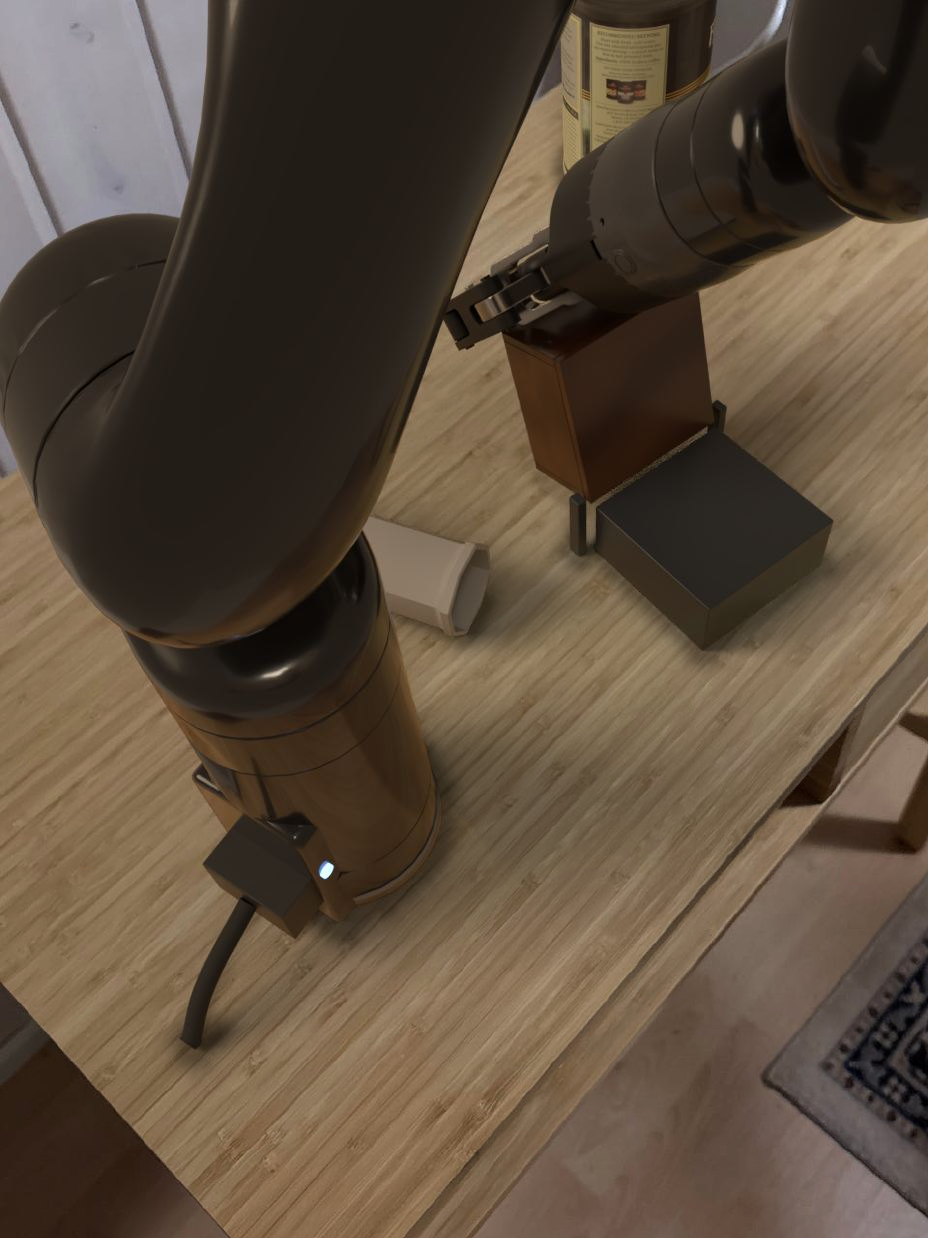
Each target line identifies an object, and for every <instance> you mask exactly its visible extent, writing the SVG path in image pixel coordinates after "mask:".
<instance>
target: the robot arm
mask: <svg viewBox="0 0 928 1238" xmlns="http://www.w3.org/2000/svg"><path fill="white" fill-rule="evenodd" d="M576 2H577V0H207V24H206V25H207V27H206V28H207V29H206V62H205V63H206V64H205V65H206V66H205V76H204V83H203V84H204V86H203V95H202V104H201V105H202V106H201V116H200V124H199V130H198V136H197V141H196V146H195V152H194V158H193V163H192V168H191V174H190V178H189V182H188V186H187V190H186V193H185V197H184V202H183V205H182V209H181V213H180V216H174V215H171V214H165V213H164V214H162V213H152V212H141V213H140V212H131V213H123V214H116V215H110V216H105V217H102V218H98V219H95V220H92V221H89V222H86V223H83V224H81V225H78V226H76V227H74V228H72V229H70V230H68V231H66V232H65V233H62V234H61V235H60V236H58V237H56V238H54V239H53V240H51V241H50V242H49V243H47V244H46V245H44V246H43V247H42V248H41V249H39V250H38V251H37V252H36V253H35V254H34V255H33V256H31V258H30V259H28V260H27V262H26V263H25V264H24V265H23V267H21V269H20V270H19V271H18V272H17V274H16V275H15V277H14V278H13V279H12V280H11V282H10V283H9V285H8V287H7V289H6V290H5V292H4V294H3V295H2V297H1V299H0V427H1V428H2V431H3V433H4V435H5V438H6V440H7V442H8V445H9V446H10V449H11V451H12V455H13V457H14V459H15V461H16V464H17V467H18V469H19V472H20V473H21V476H22V478H23V481H24V483H25V485H26V488H27V490H28V494H29V495H30V498H31V500H32V502H33V503H32V504H33V505H34V507H35V509H36V512H37V515H38V517H39V519H40V522H41V524H42V527H43V528H44V530H45V533H46V535H47V536H48V539H49V541H50V543H51V546H52V548H53V549H54V551H55V554H56V556H57V558H58V559H59V561H60V563H61V565H62V566H63V567H64V569H65V570H66V571H67V573H68V575H69V576H70V577H71V578H72V581H73V582H74V584H76V586H77V587H78V588H79V590H81V592H82V593H83V594H84V596H85V597H86V598H87V599H88V600H89V602H90V603H91V604H92V605H93V606H94V607H95V608H96V609H97V611H99V612H100V613H101V614H102V615H103V616H104V617H105V618H107V619H109V620H110V621H111V622H112V623H113V624H115V626H118V628H120V630H121V632H122V634H123V637H124V638H125V640H126V643H127V644H128V646H129V649H130V650H131V652H132V654H133V655H134V658H135V659H136V661H137V663H138V665H139V666H140V668H141V669H142V671H143V672H144V675H146V677H147V679H148V680H149V682H150V683H151V685H152V687H153V688H154V690H155V691H156V693H157V694H158V695H159V697H160V699H161V700H162V702H163V703H164V705H165V706H166V708H167V710H168V711H169V713H170V714H171V716H172V718H173V719H174V720H175V722H176V724H177V725H178V727H179V729H180V731H181V732H182V733H183V735H184V736H185V739H186V740H187V742H188V743H189V745H190V746H191V748H192V750H193V751H194V752H195V754H196V756H197V758H199V760H200V763H199V765H198V766H197V767H196V769H194V771H193V772H192V774H191V781H192V783H194V785H195V786H196V788H197V789H198V791H199V792H200V795H202V797H203V798H204V800H205V802H206V803H207V804H208V806H209V807H210V809H211V811H212V812H213V814H214V815H215V816H216V818H217V820H218V821H219V822H220V824H221V826H222V827H223V828H224V830H225V831H226V834H225V835H224V836H223V837H222V839H221V840H220V841H219V843H218V844H217V845H215V847H214V849H212V850H211V852H210V854H208V856H207V857H206V858H205V859H204V860H203V862H202V866H203V868H204V869H205V870H206V871H207V873H208V874H209V875H210V876H211V878H212V879H213V881H214V882H215V883H216V885H217V886H218V887H219V888H220V889H222V890H223V891H224V892H226V893H227V894H229V895H230V896H232V897H233V898H234V899H236V900H237V902H236V903H235V904H236V905H235V906H234V907H233V909H232V911H231V913H230V915H229V917H228V919H227V920H226V922H225V924H224V926H223V928H221V929H222V930H221V931H220V933H219V935H218V936H217V938H216V940H215V941H214V944H213V946H212V947H211V948H210V951H209V953H208V955H207V957H206V959H205V961H204V963H203V965H202V967H201V969H200V972H199V973H198V976H197V978H196V981H195V983H194V985H193V988H192V991H191V995H190V998H189V1001H188V1004H187V1008H186V1013H185V1018H184V1022H183V1028H182V1032H181V1035H180V1037H179V1040H180V1041H181V1042H182V1043H184V1044H185V1045H187V1046H188V1047H190V1048H191V1049H193V1050H194V1051H196V1050H197V1049H198V1048H199V1046H200V1043H201V1040H202V1037H203V1033H204V1028H205V1024H206V1019H207V1015H208V1012H209V1011H208V1010H209V1007H210V1003H211V1000H212V997H213V995H214V992H215V990H216V987H217V985H218V983H219V980H220V978H221V976H222V973H224V969H226V966H227V964H228V962H229V960H230V958H231V957H232V955H233V953H234V951H235V949H236V947H237V945H238V944H239V942H240V940H241V939H242V937H243V935H244V933H245V931H246V929H247V927H248V926H249V924H250V922H251V920H252V918H253V917H254V915H255V914H258V915H259V916H261V918H262V919H265V920H266V921H267V922H269V923H271V924H272V925H274V926H275V927H276V928H278V929H279V930H281V931H282V932H284V933H285V934H287V935H288V936H290V937H291V938H292V939H294V940H296V939H298V937H299V936H300V934H301V933H302V931H303V930H304V929H305V927H307V925H308V924H309V923H310V921H311V920H312V918H313V917H314V915H315V914H316V913H317V912H318V911H320V912H321V913H323V914H324V915H326V916H327V917H329V918H331V919H332V920H333V921H335V922H338V923H340V922H343V921H344V920H346V918H347V917H348V915H349V914H350V913H351V911H352V910H353V909H354V908H355V907H356V906H358V905H363V904H367V903H371V902H373V901H377V900H378V899H381V898H383V897H385V896H387V895H389V894H391V893H392V892H394V891H396V890H397V889H399V888H400V887H401V886H403V885H404V884H406V883H407V882H408V881H409V880H410V879H412V877H413V876H414V875H415V874H416V873H417V872H418V871H419V870H420V868H421V867H422V866H423V865H424V863H425V862H426V861H427V859H428V858H429V856H430V854H431V853H432V850H433V848H434V846H435V844H436V842H437V838H438V835H439V832H440V827H441V822H442V799H441V793H440V789H439V785H438V781H437V778H436V776H435V772H434V771H433V769H432V767H431V762H430V758H429V755H428V751H427V748H426V747H427V746H426V743H425V740H424V735H423V732H422V728H421V724H420V720H419V717H418V712H417V708H416V705H415V701H414V697H413V692H412V690H411V685H410V681H409V677H408V674H407V669H406V665H405V661H404V659H403V655H402V650H401V647H400V643H399V642H400V641H399V639H398V635H397V630H396V627H395V623H394V619H393V614H392V612H391V611H390V607H389V603H388V600H387V596H386V592H385V588H384V584H383V581H382V577H381V573H380V569H379V566H378V563H377V560H376V557H375V555H374V552H373V550H372V547H371V545H370V542H369V540H368V538H367V536H366V534H365V532H364V530H363V527H364V526H365V524H366V522H367V520H368V518H369V516H370V514H371V515H372V512H373V511H374V509H375V507H376V504H377V502H378V499H379V496H380V495H381V493H382V490H383V489H384V485H385V483H386V480H387V479H388V476H389V472H390V470H391V468H392V464H393V462H394V460H395V457H396V455H397V451H398V449H399V446H400V444H401V440H402V437H403V435H404V432H405V429H406V426H407V423H408V420H409V419H410V415H411V412H412V410H413V407H414V403H415V401H416V398H417V395H418V393H419V389H420V386H421V384H422V381H423V378H424V375H425V373H426V369H427V367H428V364H429V361H430V358H431V355H432V353H433V350H434V347H435V344H436V341H437V339H438V336H439V333H440V330H441V327H442V324H443V322H444V324H445V326H446V328H447V330H448V332H449V334H450V335H451V337H452V339H453V341H454V345H455V347H456V349H457V351H458V352H460V351H462V350H466V351H468V350H470V349H472V348H473V347H475V346H476V344H478V343H481V342H482V341H485V340H487V339H488V338H491V337H493V336H495V335H498V334H500V333H502V331H504V330H506V329H507V332H508V331H510V330H512V329H514V328H515V327H517V326H516V324H517V323H519V324H521V325H526V324H528V323H530V322H532V321H534V320H536V319H538V318H540V317H541V316H543V315H545V314H547V313H549V312H551V311H553V310H555V309H557V308H558V307H560V306H562V305H568V306H573V305H575V304H577V303H579V302H581V301H583V300H587V301H589V302H590V303H592V304H594V305H595V306H598V307H600V308H602V309H605V310H608V311H611V312H616V313H638V312H643V311H646V310H649V309H652V308H655V307H658V306H660V305H663V304H666V303H668V302H671V301H674V300H676V299H679V298H682V297H685V296H688V295H690V294H693V293H696V292H699V293H700V292H701V291H704V290H706V289H709V288H712V287H715V286H717V285H720V284H722V283H724V282H727V281H729V280H732V279H734V278H736V277H738V276H739V275H741V274H743V273H745V272H746V271H747V270H749V269H751V268H752V267H754V266H756V265H757V264H759V263H761V262H765V261H767V260H770V259H772V258H775V257H777V256H781V255H783V254H786V253H789V252H791V251H793V250H796V249H799V248H801V247H803V246H806V245H808V244H810V243H813V242H815V241H817V240H819V239H821V238H824V237H825V236H828V235H829V234H832V233H833V232H834V231H836V230H838V229H839V228H841V227H842V226H844V225H845V224H847V223H849V222H850V221H852V220H854V219H855V218H859V219H860V220H863V221H868V222H870V223H871V222H872V223H876V224H884V225H899V224H902V225H903V224H909V223H915V222H918V221H923V220H926V219H928V0H794V4H793V9H792V13H791V18H790V22H789V28H788V34H787V36H785V37H783V38H780V39H779V40H777V41H775V42H773V43H770V44H769V45H766V46H763V47H762V48H760V49H758V50H756V51H754V52H751V53H750V54H747V55H745V56H743V57H742V58H740V59H738V60H737V61H736V62H734V63H732V64H730V65H729V66H727V67H726V68H724V69H723V70H721V71H720V72H719V73H717V74H715V75H714V76H712V77H710V79H709V80H708V81H706V82H705V83H703V84H702V85H700V86H699V87H697V88H696V89H694V90H693V91H692V92H690V93H688V94H686V95H684V96H681V97H678V98H676V99H673V100H671V101H669V102H667V103H664V104H662V105H660V106H659V107H657V108H655V109H653V110H652V111H650V112H649V113H647V114H646V115H644V116H643V117H641V118H640V119H639V120H637V121H636V122H634V123H633V124H631V125H630V126H628V127H627V128H625V129H624V130H622V131H621V132H619V133H618V134H616V135H615V136H613V137H612V138H611V139H609V140H608V141H606V142H605V143H603V144H602V145H600V146H599V147H597V148H596V149H594V150H593V151H591V152H590V153H589V154H587V155H586V156H584V157H583V158H581V159H580V160H579V161H577V162H576V163H575V164H574V165H573V166H572V167H571V168H570V169H569V170H568V172H567V173H566V174H565V175H563V177H562V178H561V180H560V181H559V183H558V186H557V188H556V190H555V192H554V194H553V198H552V202H551V206H550V212H549V213H550V214H549V224H547V225H546V226H543V227H542V228H540V229H539V230H537V231H535V232H534V234H533V235H532V238H531V240H530V241H529V242H527V243H525V244H523V245H522V246H520V247H518V248H516V249H515V250H513V251H511V252H510V253H508V254H506V255H504V256H502V257H501V258H499V259H497V260H496V261H494V262H493V263H492V264H491V266H490V273H488V274H487V275H485V276H483V277H481V278H480V279H479V281H480V282H478V283H477V284H474V282H472V283H471V284H469V285H467V286H465V287H464V291H463V292H461V293H459V294H457V295H455V296H454V297H452V296H453V294H454V291H455V288H456V287H457V283H458V280H459V277H460V275H461V272H462V269H463V266H464V264H465V261H466V258H467V256H468V253H469V251H470V248H471V245H472V244H473V241H474V237H475V235H476V233H477V230H478V227H479V225H480V223H481V220H482V217H483V214H484V213H485V210H486V208H487V205H488V203H489V200H490V198H491V196H492V193H493V191H494V189H495V186H496V185H497V182H498V180H499V178H500V175H501V173H502V170H503V168H504V166H505V164H506V162H507V160H508V157H509V155H510V153H511V151H512V149H513V146H514V144H515V142H516V139H517V137H518V136H519V133H520V131H521V129H522V127H523V124H524V122H525V120H526V118H527V116H528V113H529V111H530V110H531V106H532V104H533V101H534V99H535V97H536V95H537V92H538V91H539V89H540V85H541V84H542V81H543V79H544V77H545V75H546V72H547V70H548V68H549V65H550V63H551V61H552V59H553V56H554V54H555V52H556V50H557V48H558V46H559V43H560V42H561V36H562V34H563V31H564V29H565V27H566V24H567V22H568V20H569V18H570V16H571V13H572V11H573V9H574V7H575V4H576ZM534 252H535V253H534ZM529 255H530V256H529ZM527 256H528V257H527ZM526 257H527V258H526ZM524 258H526V259H525V260H524V261H522V262H523V264H522V268H521V272H522V275H523V276H524V277H522V278H521V277H520V275H519V273H518V271H517V265H519V264H518V263H519V261H521V260H522V259H524ZM525 275H526V276H525ZM532 297H533V298H534V299H535V300H537V301H538V302H536V301H535V300H534V299H533V298H532ZM539 301H540V302H539Z"/></svg>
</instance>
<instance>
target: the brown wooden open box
mask: <svg viewBox="0 0 928 1238" xmlns="http://www.w3.org/2000/svg"><path fill="white" fill-rule="evenodd" d="M523 262H524V261H522V262H521V263H519V264H517V271H518V273H519V275H520V277H521V278H522V277H524V276H523V275H522V272H521V268H522V264H523ZM525 276H526V275H525ZM702 315H703V314H702V307H701V297H700V291H699V292H696V293H693V294H690V295H688V296H685V297H682V298H679V299H676V300H674V301H671V302H668V303H666V304H663V305H660V306H658V307H655V308H652V309H649V310H646V311H643V312H638V313H616V312H611V311H608V310H605V309H602V308H600V307H598V306H595V305H594V304H592V303H590V302H589V301H587V300H583V301H581V302H579V303H577V304H575V305H573V306H568V305H562V306H560V307H558V308H557V309H555V310H553V311H551V312H549V313H547V314H545V315H543V316H541V317H540V318H538V319H536V320H534V321H532V322H530V323H528V324H526V325H521V324H519V323H517V324H516V326H517V327H515V328H514V329H512V330H510V331H508V332H507V329H506V330H504V331H502V332H501V336H502V340H503V344H504V348H505V353H506V356H507V360H508V363H509V367H510V372H511V376H512V379H513V383H514V386H515V390H516V394H517V398H518V402H519V406H520V410H521V413H522V418H523V422H524V426H525V430H526V433H527V437H528V441H529V445H530V450H531V454H532V457H533V461H534V465H535V469H536V470H538V471H539V472H541V473H542V474H544V475H545V476H547V477H549V478H550V479H551V480H554V481H555V482H556V483H558V484H560V485H561V486H563V487H564V488H566V489H567V490H569V491H571V492H572V493H573V494H575V493H577V492H578V493H579V494H580V495H581V496H582V497H583V498H584V499H585V500H586V502H588V504H591V505H592V504H593V503H595V502H596V501H598V500H599V499H601V498H603V497H604V496H605V495H607V494H609V493H610V492H611V491H613V490H614V489H616V488H617V487H619V486H620V485H622V484H623V483H625V482H626V481H628V480H630V479H631V478H632V477H634V476H636V475H637V474H638V473H640V472H641V471H643V470H644V469H646V468H647V467H649V466H650V465H652V464H654V463H655V462H656V461H658V460H660V459H661V458H662V457H663V456H664V457H665V455H667V454H669V453H670V452H672V451H673V450H674V449H676V448H677V447H679V446H680V445H681V444H683V443H684V442H686V441H687V440H689V439H691V438H692V437H694V436H695V435H697V434H699V432H701V431H703V430H704V429H707V426H709V425H710V424H712V423H713V422H714V415H713V406H712V403H713V399H712V398H713V397H712V389H711V382H710V374H709V366H708V357H707V349H706V340H705V331H704V323H703V316H702Z"/></svg>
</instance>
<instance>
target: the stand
mask: <svg viewBox="0 0 928 1238" xmlns="http://www.w3.org/2000/svg"><path fill="white" fill-rule="evenodd" d="M712 406H713V415H714V422H713V423H712V424H710V425H709V426H707V427H706V433H704V434H703V435H701V436H700V437H698V438H696V439H695V440H694V441H692V442H691V443H689V444H687V445H686V446H685V447H683V448H682V449H680V450H678V451H677V452H675V453H674V454H673V455H672V456H670V457H668V458H667V459H666V460H664V461H662V462H661V463H659V464H657V466H654V467H653V468H652V469H650V470H649V471H648V472H646V473H645V474H643V475H641V476H640V477H639V478H636V479H635V480H634V481H632V482H631V483H630V484H628V485H626V486H625V487H623V488H622V489H620V490H619V491H618V492H616V493H614V494H613V495H611V496H610V497H609V498H606V499H605V500H604V501H603V502H601V503H599V504H598V505H597V506H595V533H594V535H595V538H594V539H595V540H594V542H595V543H594V544H595V545H594V546H595V548H594V549H595V551H596V552H597V553H598V554H599V555H600V556H601V557H602V558H603V559H604V560H605V561H606V562H608V563H609V564H610V565H611V567H613V569H615V570H616V571H617V572H618V573H619V574H620V575H621V576H622V577H623V578H624V579H626V580H627V581H628V582H629V583H630V584H631V585H632V586H633V587H634V588H635V589H636V590H638V591H639V593H640V594H642V595H643V596H644V597H645V598H646V599H647V600H648V602H651V604H653V606H655V607H656V609H658V610H659V611H660V612H661V613H662V614H663V615H664V616H665V617H666V618H667V619H668V620H669V621H670V622H672V623H673V625H675V626H676V627H677V628H678V629H679V630H680V631H681V632H682V633H683V634H684V635H685V636H686V637H688V638H689V640H691V641H692V643H694V644H695V645H696V646H697V647H698V648H700V650H701V651H705V650H706V649H708V648H709V647H711V646H712V645H714V644H715V643H716V642H717V641H719V640H720V639H721V638H723V637H724V636H725V635H727V634H728V633H730V631H732V630H734V629H735V628H736V627H738V626H739V625H740V624H742V623H743V622H744V621H747V619H748V618H750V617H751V616H753V615H754V614H755V613H757V612H758V611H759V610H761V609H762V608H764V606H767V604H770V602H771V601H773V600H774V599H775V598H777V597H779V595H781V594H783V593H784V592H785V591H786V590H788V589H790V588H791V587H792V586H794V585H795V584H797V582H799V581H801V580H802V579H803V578H804V577H805V576H807V575H808V574H809V573H811V572H813V570H815V569H816V568H818V567H819V566H820V565H821V564H822V562H823V559H824V555H825V552H826V549H827V545H828V541H829V538H830V535H831V531H832V528H833V524H834V519H833V518H831V517H830V516H829V515H828V514H826V513H825V512H824V511H823V510H821V509H820V508H819V507H817V505H816V504H814V503H812V502H811V501H810V500H809V499H808V498H807V497H805V496H804V495H802V494H801V493H800V492H799V491H797V489H795V488H794V487H792V486H791V485H790V484H789V483H787V482H786V481H785V480H783V478H781V477H780V476H779V475H777V474H776V473H775V472H774V471H772V469H770V468H768V467H767V466H766V465H765V464H764V463H762V462H761V461H760V460H758V459H757V458H756V457H755V456H753V455H752V454H751V453H749V451H747V450H746V449H745V448H743V447H742V446H741V445H739V444H738V443H737V442H736V441H735V440H733V438H731V437H730V436H729V435H727V434H726V433H724V432H725V426H726V425H725V424H726V418H727V410H728V406H727V405H726V404H724V403H723V402H722V401H721V400H719V399H716V400H714V401H712ZM568 507H569V508H568V509H569V511H568V512H569V548H570V550H571V551H572V552H573V553H574V554H575V555H576V556H577V557H580V556H583V554H585V553H586V552H587V550H588V549H587V548H588V547H587V545H588V543H587V541H588V540H587V501H586V500H585V499H584V498H583V497H582V496H581V495H580V494H579V493H578V492H577V493H573V494H572V495H571V496H569V498H568Z"/></svg>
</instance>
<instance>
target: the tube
mask: <svg viewBox="0 0 928 1238" xmlns="http://www.w3.org/2000/svg"><path fill="white" fill-rule="evenodd" d="M363 530H364V532H365V534H366V536H367V538H368V540H369V542H370V545H371V547H372V550H373V552H374V555H375V557H376V560H377V563H378V566H379V569H380V573H381V577H382V581H383V584H384V588H385V592H386V596H387V600H388V603H389V607H390V611H391V613H394V614H396V615H400V616H402V617H406V618H409V619H410V620H411V619H412V620H415V621H418V622H421V623H424V624H427V625H431V626H433V627H436V628H438V629H441V630H442V631H443V634H444V635H446V636H449V637H460V636H466V635H467V634H468V632H469V630H470V628H471V626H472V624H473V622H474V620H475V618H476V616H477V614H478V612H479V610H480V609H481V606H482V604H483V602H484V598H485V594H486V590H487V587H488V583H489V579H490V576H491V573H492V563H491V555H490V547H489V545H488V544H486V543H485V544H484V543H481V542H474V541H473V542H472V541H466V542H463V541H460V540H457V539H454V538H450V537H447V536H443V535H439V534H437V533H435V532H432V531H431V532H430V531H427V530H424V529H421V528H418V527H414V526H411V525H407V524H404V523H400V522H397V521H394V520H391V519H388V518H384V517H381V516H379V515H378V516H377V515H374V514H372V513H371V514H370V516H369V518H368V520H367V522H366V524H365V526H364V527H363Z"/></svg>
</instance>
